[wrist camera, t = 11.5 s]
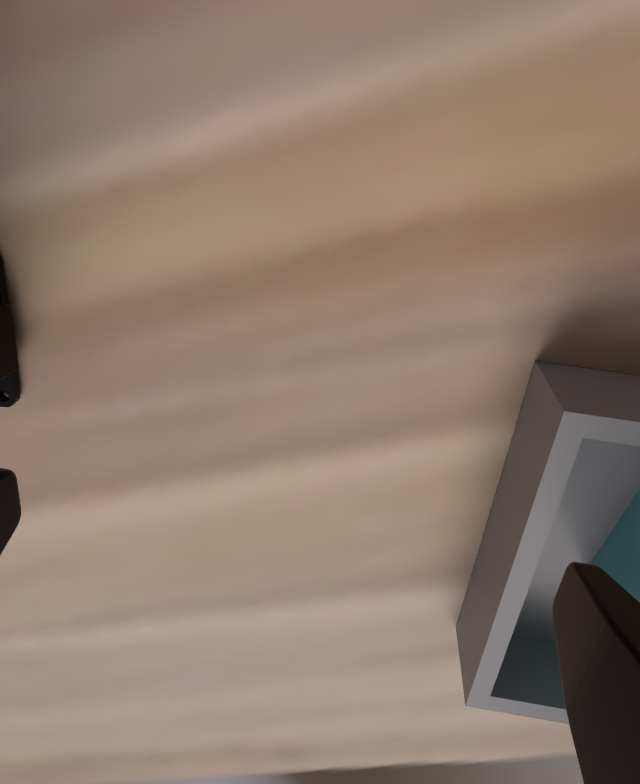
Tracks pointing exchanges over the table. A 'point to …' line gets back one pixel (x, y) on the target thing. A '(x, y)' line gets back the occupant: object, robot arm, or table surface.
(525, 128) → the table surface
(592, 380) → the box
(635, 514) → the handle block
